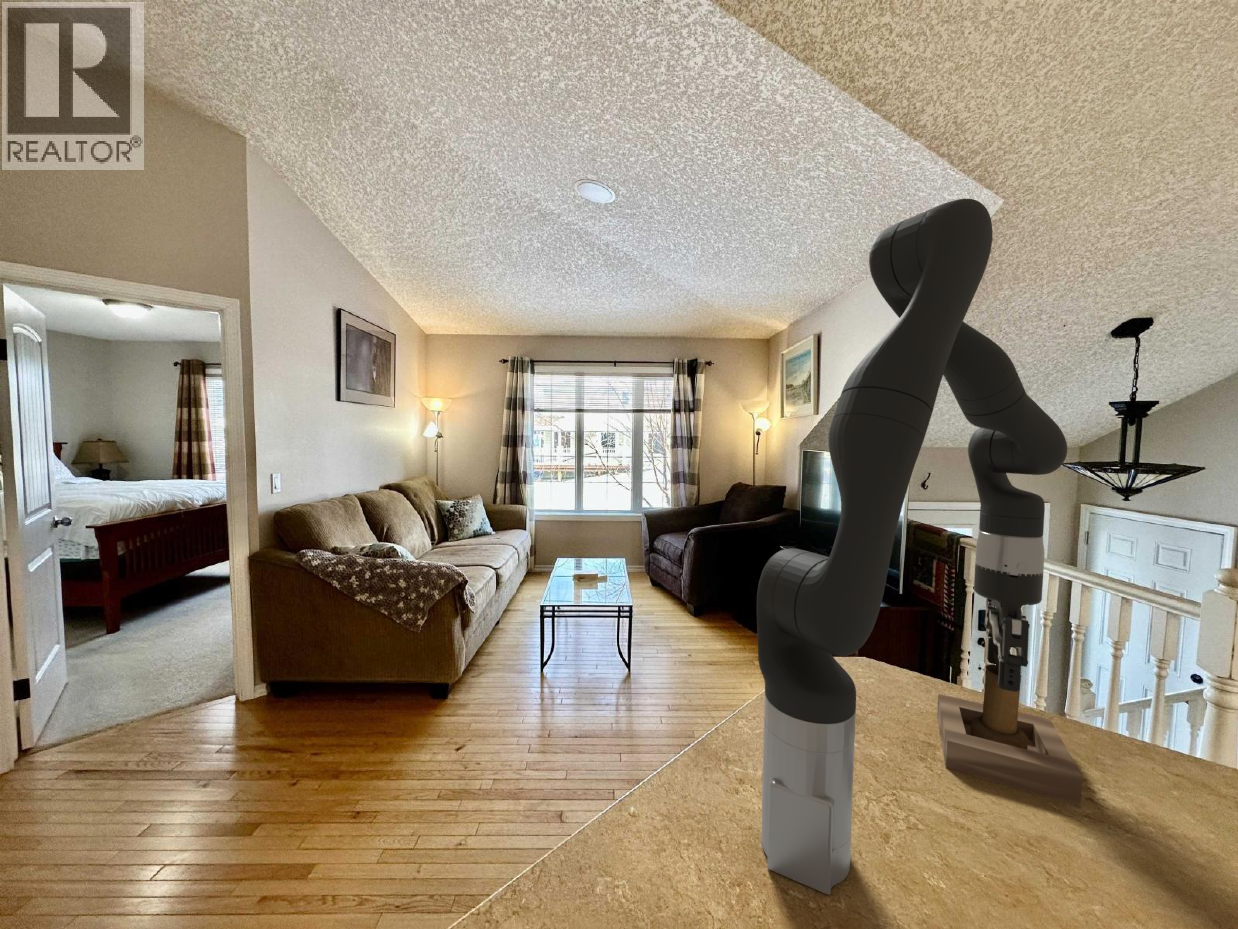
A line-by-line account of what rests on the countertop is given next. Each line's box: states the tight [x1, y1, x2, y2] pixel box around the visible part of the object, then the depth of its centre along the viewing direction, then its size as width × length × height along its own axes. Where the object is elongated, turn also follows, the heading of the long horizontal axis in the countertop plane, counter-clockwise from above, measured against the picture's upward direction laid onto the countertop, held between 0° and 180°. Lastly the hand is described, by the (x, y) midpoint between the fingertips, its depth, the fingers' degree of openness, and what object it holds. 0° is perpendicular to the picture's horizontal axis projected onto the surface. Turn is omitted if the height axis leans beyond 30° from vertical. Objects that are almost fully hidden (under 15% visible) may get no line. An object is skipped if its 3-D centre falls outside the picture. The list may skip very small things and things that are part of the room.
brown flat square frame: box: [936, 693, 1083, 807], centre depth 70 cm, size 14×14×4 cm
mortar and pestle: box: [970, 630, 1028, 750], centre depth 69 cm, size 7×6×18 cm
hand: (1002, 676), depth 69 cm, fingers open, 8 cm apart
